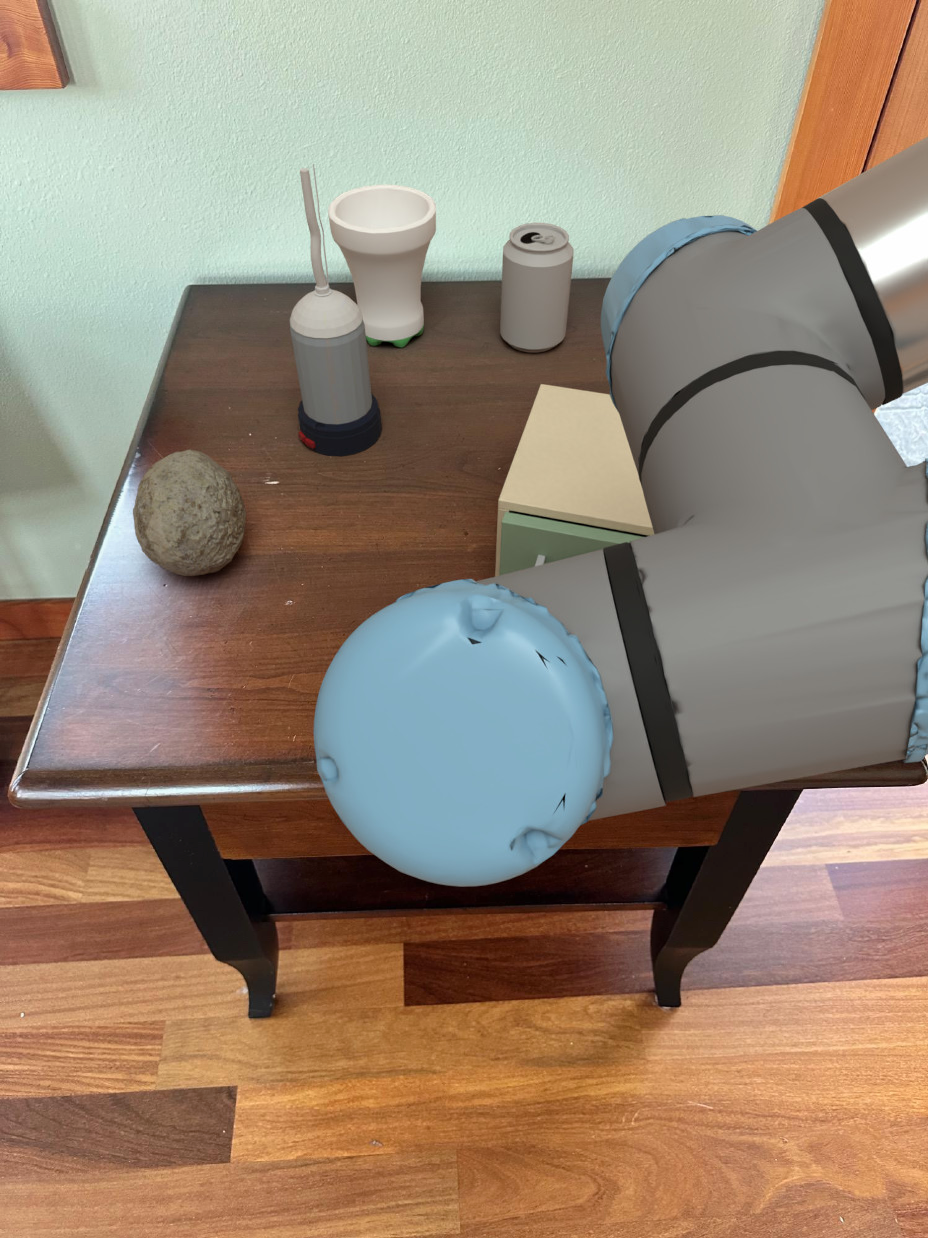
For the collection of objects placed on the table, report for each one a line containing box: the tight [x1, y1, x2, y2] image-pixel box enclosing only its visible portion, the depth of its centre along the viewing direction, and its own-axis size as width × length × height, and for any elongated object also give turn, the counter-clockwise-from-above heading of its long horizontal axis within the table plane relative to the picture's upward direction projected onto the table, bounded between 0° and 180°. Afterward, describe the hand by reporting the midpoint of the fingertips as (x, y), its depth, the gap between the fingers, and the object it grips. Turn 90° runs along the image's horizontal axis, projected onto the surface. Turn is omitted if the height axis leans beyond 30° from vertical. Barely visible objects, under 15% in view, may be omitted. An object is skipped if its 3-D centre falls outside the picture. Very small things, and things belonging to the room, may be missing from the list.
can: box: [499, 222, 575, 354], centre depth 91 cm, size 8×8×12 cm
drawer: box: [499, 512, 648, 576], centre depth 68 cm, size 20×13×8 cm, turn 165°
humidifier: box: [289, 163, 383, 457], centre depth 75 cm, size 8×8×25 cm
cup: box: [327, 184, 437, 348], centre depth 91 cm, size 11×11×14 cm
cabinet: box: [494, 383, 655, 577], centre depth 70 cm, size 16×14×10 cm
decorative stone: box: [132, 448, 247, 577], centre depth 69 cm, size 10×8×10 cm
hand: (564, 630), depth 58 cm, fingers closed
